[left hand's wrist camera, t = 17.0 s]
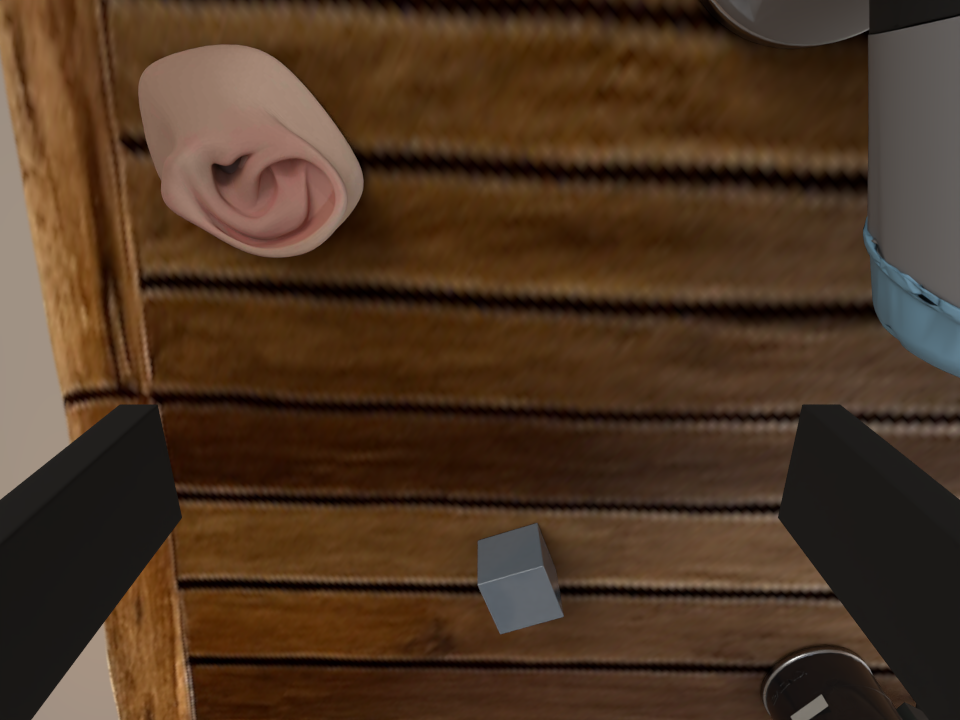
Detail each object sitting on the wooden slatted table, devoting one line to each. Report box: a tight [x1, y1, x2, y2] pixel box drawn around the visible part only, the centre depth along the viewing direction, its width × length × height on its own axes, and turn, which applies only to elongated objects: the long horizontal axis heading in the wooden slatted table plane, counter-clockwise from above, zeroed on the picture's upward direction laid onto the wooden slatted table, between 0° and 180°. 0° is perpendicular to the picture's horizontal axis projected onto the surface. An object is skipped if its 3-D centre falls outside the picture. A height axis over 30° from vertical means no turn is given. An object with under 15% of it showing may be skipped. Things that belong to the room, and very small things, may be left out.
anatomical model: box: [138, 45, 364, 258], centre depth 36 cm, size 13×4×12 cm
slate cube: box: [478, 523, 564, 634], centre depth 47 cm, size 5×5×5 cm
